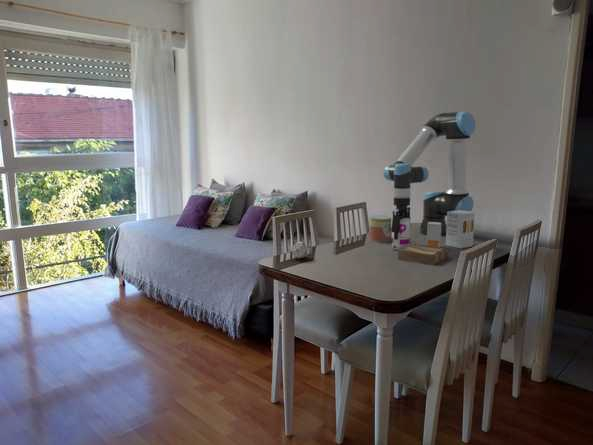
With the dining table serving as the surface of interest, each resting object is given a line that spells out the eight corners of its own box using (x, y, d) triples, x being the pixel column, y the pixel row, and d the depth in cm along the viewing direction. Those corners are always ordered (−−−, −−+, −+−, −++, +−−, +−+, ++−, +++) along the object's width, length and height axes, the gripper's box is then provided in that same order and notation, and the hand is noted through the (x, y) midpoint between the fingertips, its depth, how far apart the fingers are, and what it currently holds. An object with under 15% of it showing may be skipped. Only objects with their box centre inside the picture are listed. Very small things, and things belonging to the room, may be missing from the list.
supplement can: (406, 251, 211) (407, 220, 208) (389, 249, 215) (390, 218, 212) (411, 247, 217) (412, 217, 215) (395, 246, 222) (396, 216, 219)
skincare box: (426, 247, 219) (427, 223, 217) (428, 245, 222) (428, 221, 220) (439, 248, 216) (440, 224, 214) (440, 246, 220) (441, 222, 217)
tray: (413, 251, 211) (413, 243, 210) (447, 256, 201) (447, 248, 200) (397, 259, 199) (398, 250, 198) (433, 264, 189) (433, 255, 188)
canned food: (381, 243, 229) (381, 219, 227) (364, 239, 238) (364, 217, 236) (395, 239, 236) (396, 217, 234) (378, 236, 245) (379, 214, 243)
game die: (299, 265, 205) (302, 245, 210) (311, 262, 199) (314, 241, 203) (284, 258, 200) (287, 238, 205) (296, 255, 194) (300, 234, 199)
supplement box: (460, 248, 215) (462, 213, 212) (445, 245, 223) (446, 211, 220) (473, 246, 220) (475, 211, 217) (457, 242, 228) (459, 209, 225)
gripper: (404, 193, 222) (403, 239, 226) (384, 199, 206) (383, 247, 210) (418, 194, 217) (417, 240, 221) (399, 200, 201) (398, 249, 205)
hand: (400, 244), depth 216 cm, fingers closed on supplement can, 8 cm apart
